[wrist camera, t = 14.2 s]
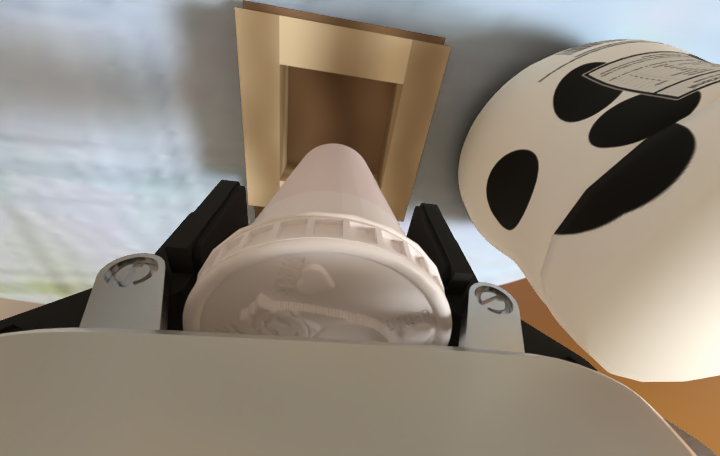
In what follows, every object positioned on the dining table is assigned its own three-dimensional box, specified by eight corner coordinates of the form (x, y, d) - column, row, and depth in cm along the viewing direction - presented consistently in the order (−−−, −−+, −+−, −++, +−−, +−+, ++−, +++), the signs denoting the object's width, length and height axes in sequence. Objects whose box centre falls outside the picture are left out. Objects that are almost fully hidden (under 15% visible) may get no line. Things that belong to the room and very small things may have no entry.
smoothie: (337, 248, 17) (323, 675, 6) (244, 180, 15) (-126, 719, 3) (420, 177, 15) (675, 652, 3) (329, 81, 12) (105, 743, 1)
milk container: (512, 250, 34) (642, 419, 19) (409, 161, 27) (485, 313, 12) (671, 135, 27) (1071, 261, 12) (584, -22, 20) (1237, -173, 5)
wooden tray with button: (261, 262, 33) (249, 294, 29) (249, 2, 20) (224, -6, 16) (380, 272, 35) (385, 304, 31) (439, 37, 22) (461, 38, 18)
